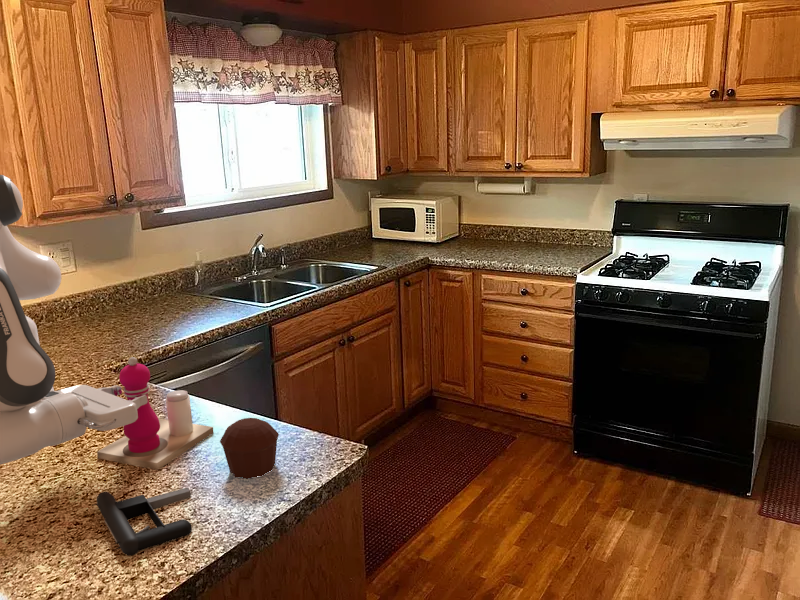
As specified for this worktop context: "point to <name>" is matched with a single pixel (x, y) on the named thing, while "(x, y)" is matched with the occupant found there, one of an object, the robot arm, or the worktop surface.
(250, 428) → the muffin
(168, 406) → the salt shaker
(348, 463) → the worktop surface
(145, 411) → the pepper mill
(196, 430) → the condiment board
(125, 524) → the door handle
